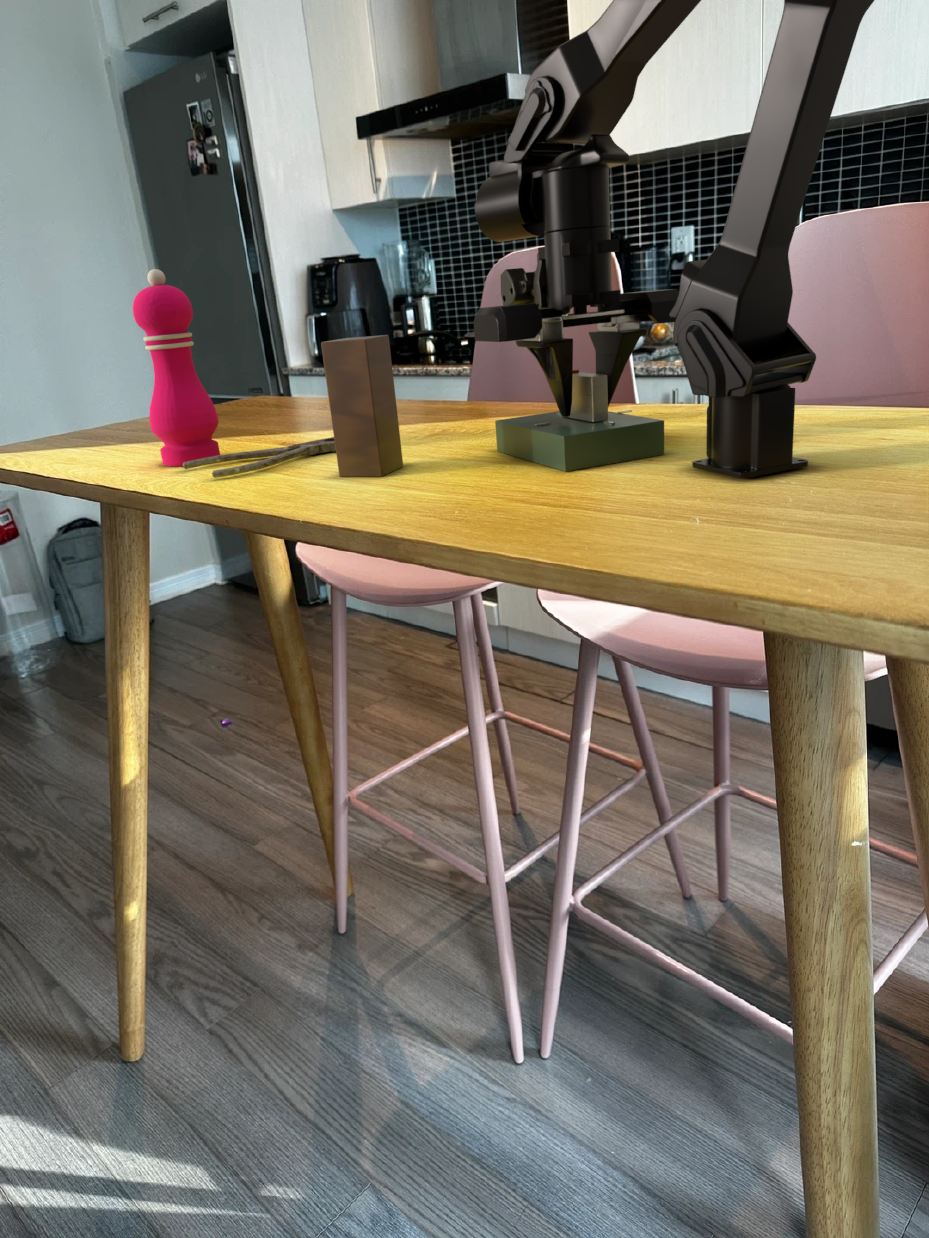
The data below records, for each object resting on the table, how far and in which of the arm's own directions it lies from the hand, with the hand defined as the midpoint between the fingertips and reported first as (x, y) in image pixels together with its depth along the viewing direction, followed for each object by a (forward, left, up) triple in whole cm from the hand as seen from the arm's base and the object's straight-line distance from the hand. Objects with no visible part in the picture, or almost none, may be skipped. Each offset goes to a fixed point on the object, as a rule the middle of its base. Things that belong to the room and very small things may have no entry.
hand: (584, 413), depth 82 cm
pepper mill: (+30, +33, -4) cm, 45 cm away
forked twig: (+23, +25, -4) cm, 34 cm away
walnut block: (+7, +19, -4) cm, 21 cm away
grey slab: (0, 0, 0) cm, 0 cm away
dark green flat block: (0, +1, -4) cm, 4 cm away
